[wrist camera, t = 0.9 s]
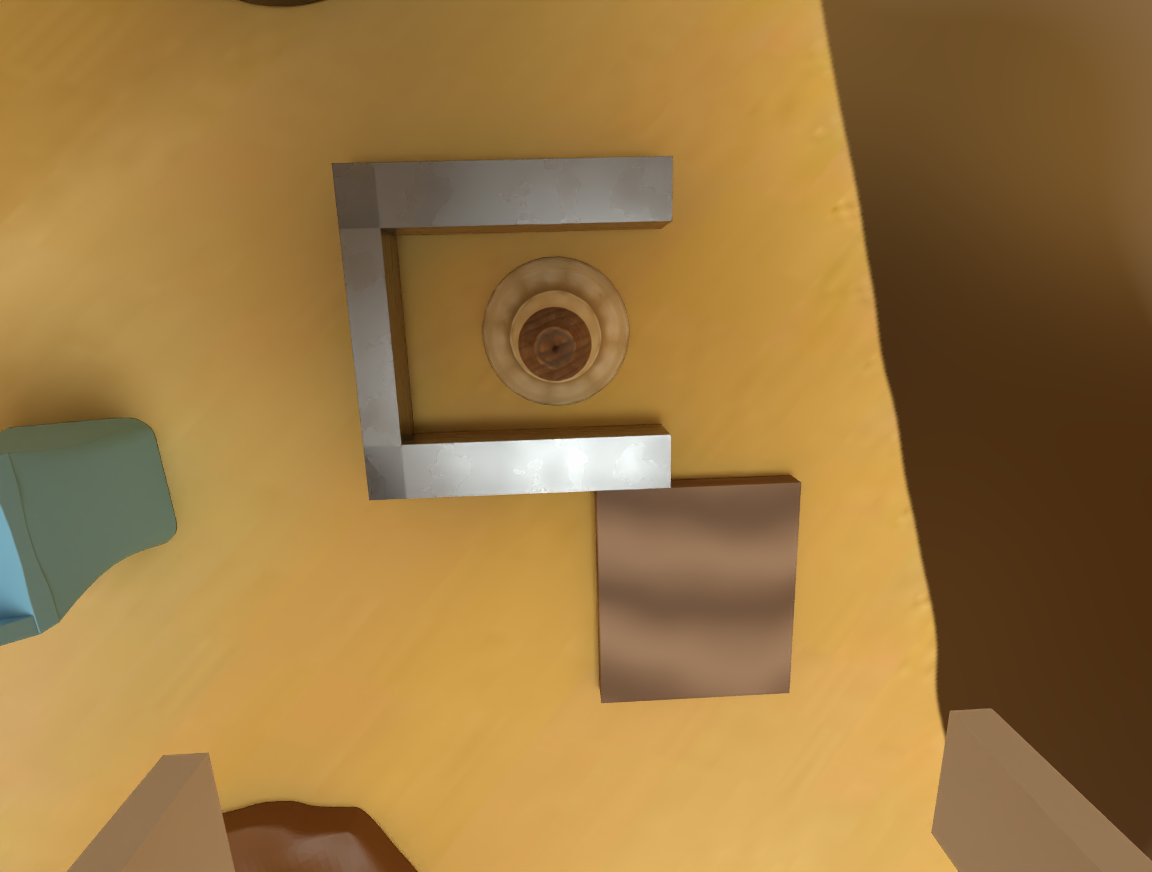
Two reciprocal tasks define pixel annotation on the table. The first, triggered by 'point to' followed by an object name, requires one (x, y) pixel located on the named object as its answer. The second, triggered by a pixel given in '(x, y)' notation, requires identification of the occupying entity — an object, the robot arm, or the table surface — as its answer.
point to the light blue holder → (73, 513)
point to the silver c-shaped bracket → (370, 260)
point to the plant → (309, 840)
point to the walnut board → (697, 588)
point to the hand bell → (555, 331)
